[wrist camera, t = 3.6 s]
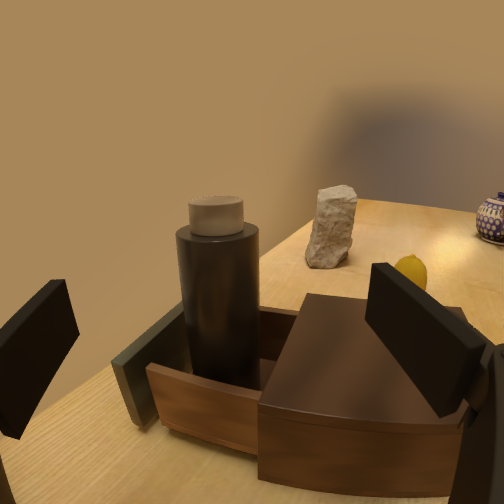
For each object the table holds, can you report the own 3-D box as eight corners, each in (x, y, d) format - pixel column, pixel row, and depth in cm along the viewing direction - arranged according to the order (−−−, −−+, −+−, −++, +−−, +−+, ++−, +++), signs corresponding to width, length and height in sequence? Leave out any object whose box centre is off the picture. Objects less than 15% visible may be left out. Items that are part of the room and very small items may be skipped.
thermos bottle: (184, 399, 24) (156, 207, 19) (212, 362, 29) (198, 193, 24) (247, 417, 22) (239, 209, 17) (268, 374, 27) (268, 195, 22)
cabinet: (257, 479, 18) (256, 403, 15) (301, 367, 31) (306, 292, 28) (450, 496, 14) (508, 420, 11) (436, 380, 26) (461, 307, 24)
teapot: (521, 256, 60) (529, 201, 55) (474, 246, 68) (481, 191, 64) (510, 236, 78) (516, 192, 73) (473, 228, 87) (477, 185, 82)
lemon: (382, 297, 45) (389, 248, 43) (414, 297, 44) (422, 249, 42) (391, 315, 40) (400, 261, 37) (426, 314, 39) (437, 261, 37)
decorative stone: (299, 252, 66) (300, 182, 62) (340, 250, 67) (343, 183, 62) (310, 270, 57) (312, 189, 52) (356, 267, 57) (362, 190, 53)
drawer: (121, 418, 22) (98, 356, 20) (191, 342, 34) (184, 287, 32) (292, 474, 18) (301, 415, 16) (324, 367, 29) (331, 308, 27)
